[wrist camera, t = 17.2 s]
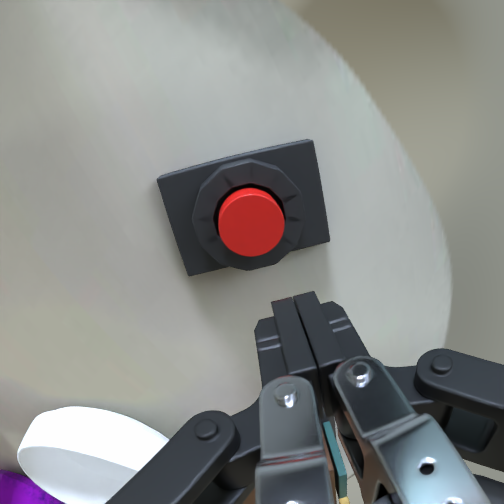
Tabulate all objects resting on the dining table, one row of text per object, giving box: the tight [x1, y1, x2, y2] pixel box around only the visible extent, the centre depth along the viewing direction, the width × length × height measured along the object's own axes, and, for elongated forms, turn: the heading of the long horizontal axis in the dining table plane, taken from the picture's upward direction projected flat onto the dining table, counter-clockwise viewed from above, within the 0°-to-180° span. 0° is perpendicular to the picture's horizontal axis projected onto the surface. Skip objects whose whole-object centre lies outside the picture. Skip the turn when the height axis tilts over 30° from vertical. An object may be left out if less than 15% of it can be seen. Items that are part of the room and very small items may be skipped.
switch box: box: [157, 139, 330, 276], centre depth 20 cm, size 10×7×3 cm
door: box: [323, 421, 350, 504], centre depth 27 cm, size 1×9×10 cm, turn 13°
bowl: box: [17, 407, 169, 504], centre depth 27 cm, size 20×20×8 cm
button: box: [218, 188, 284, 257], centre depth 18 cm, size 4×4×2 cm
